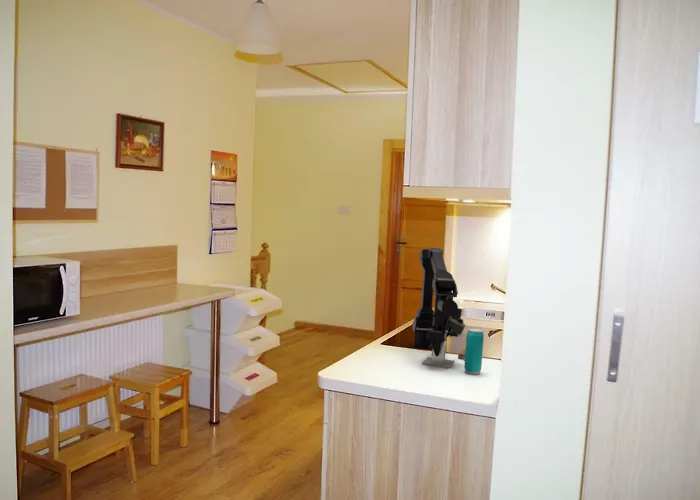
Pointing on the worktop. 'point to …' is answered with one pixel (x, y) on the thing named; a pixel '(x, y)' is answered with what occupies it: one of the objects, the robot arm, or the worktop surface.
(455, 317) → the cup
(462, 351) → the vise
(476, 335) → the beverage can
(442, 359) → the pale grey block
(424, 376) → the worktop surface
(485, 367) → the worktop surface
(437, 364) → the pad
